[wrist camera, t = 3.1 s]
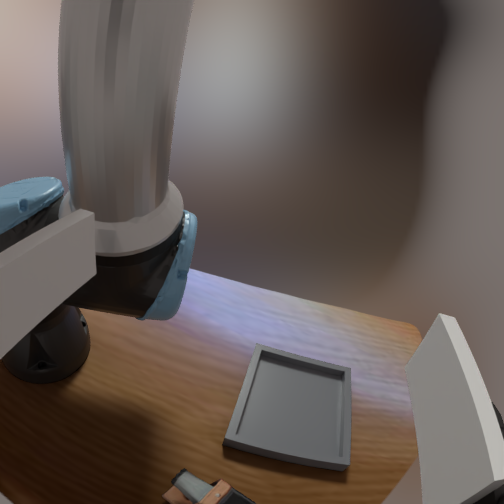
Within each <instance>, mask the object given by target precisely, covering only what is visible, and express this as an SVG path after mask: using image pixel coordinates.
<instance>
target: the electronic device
mask: <svg viewBox="0 0 504 504" xmlns="http://www.w3.org/2000/svg"><path fill="white" fill-rule="evenodd" d="M171 482H172V484H173V485H174V486H172V487H171V488H170V489H169V490H168V491H167V492H166V493H164V494H162V497H163V498H164V499H166V500H167V501H168V502H169V503H171V504H256V503H255V502H254V501H252V500H251V499H249V498H247V497H246V496H244V495H243V494H242V493H240V492H239V491H237V490H235V489H234V488H233V487H232V486H231V485H229V484H228V483H226V482H225V481H224V480H223V479H219V480H217V481H215V482H213V483H212V484H208V483H206V482H204V481H203V480H201V479H199V478H197V477H196V476H194V475H193V474H192V473H190V472H188V471H187V470H186V469H185V468H184V469H183V470H181V471H180V473H178V474H177V475H176V476H175V478H173V479H172V481H171Z"/></svg>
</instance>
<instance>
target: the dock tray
mask: <svg viewBox="0 0 504 504" xmlns="http://www.w3.org/2000/svg"><path fill="white" fill-rule="evenodd" d="M222 445H224V446H228V447H231V448H234V449H238V450H241V451H245V452H248V453H252V454H256V455H260V456H264V457H268V458H272V459H276V460H281V461H285V462H290V463H295V464H300V465H305V466H311V467H317V468H323V469H330V470H337V471H343V470H345V469H346V468H347V467H348V466H349V465H350V448H351V368H347V367H343V366H339V365H335V364H331V363H327V362H323V361H319V360H315V359H311V358H307V357H303V356H300V355H296V354H292V353H289V352H285V351H282V350H278V349H275V348H271V347H268V346H264V345H261V344H258V343H256V346H255V349H254V352H253V356H252V359H251V362H250V365H249V368H248V371H247V374H246V377H245V380H244V383H243V386H242V389H241V392H240V395H239V398H238V401H237V404H236V407H235V409H234V412H233V415H232V418H231V421H230V424H229V427H228V430H227V433H226V435H225V438H224V441H223V444H222Z"/></svg>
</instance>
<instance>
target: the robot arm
mask: <svg viewBox="0 0 504 504" xmlns="http://www.w3.org/2000/svg"><path fill="white" fill-rule="evenodd" d="M193 2H194V0H62V3H61V14H60V26H59V48H58V83H59V84H58V85H59V106H60V120H61V132H62V141H63V151H64V158H65V166H66V173H67V179H68V185H69V191H68V193H67V194H66V195H65V197H63V193H64V188H63V187H62V183H61V181H60V180H58V179H56V178H54V177H36V178H30V179H25V180H20V181H17V182H14V183H11V184H8V185H5V186H3V187H0V359H2V361H3V363H4V365H5V367H6V368H7V369H8V370H9V371H10V372H11V373H12V374H13V375H14V376H16V377H17V378H19V379H21V380H24V381H27V382H31V383H51V382H55V381H58V380H61V379H63V378H65V377H67V376H69V375H71V374H72V373H74V372H75V371H76V370H77V369H78V368H79V367H80V366H81V365H82V364H83V362H84V361H85V359H86V358H87V355H88V353H89V350H90V335H89V329H88V325H87V322H86V320H85V318H84V316H83V315H82V313H81V311H80V309H79V308H84V309H89V310H95V311H100V312H106V313H112V314H117V315H123V316H130V317H135V318H136V319H138V320H145V319H152V320H168V319H170V318H172V317H173V316H174V315H175V314H176V313H177V311H178V309H179V307H180V304H181V301H182V298H183V294H184V290H185V286H186V282H187V273H188V272H189V267H190V264H191V260H192V254H193V249H194V244H195V239H196V232H197V218H196V216H195V215H194V214H192V213H190V212H188V211H187V210H183V200H182V196H181V194H180V192H179V190H178V189H177V187H176V186H175V185H174V184H173V183H172V182H171V181H169V180H168V178H169V177H168V176H169V165H170V154H171V143H172V134H173V125H174V117H175V108H176V101H177V93H178V86H179V79H180V73H181V66H182V60H183V54H184V48H185V43H186V37H187V32H188V27H189V22H190V17H191V12H192V7H193ZM78 307H79V308H78ZM405 372H406V377H407V382H408V387H409V392H410V398H411V404H412V410H413V416H414V422H415V429H416V436H417V444H418V452H419V460H420V471H421V481H422V498H423V504H504V423H503V420H502V417H501V414H500V413H499V411H498V410H497V408H496V407H495V405H494V404H493V402H491V400H490V397H489V394H488V392H487V389H486V387H485V384H484V382H483V379H482V376H481V374H480V372H479V369H478V367H477V364H476V363H475V360H474V358H473V355H472V353H471V351H470V349H469V346H468V344H467V342H466V340H465V338H464V336H463V333H462V331H461V329H460V327H459V325H458V323H457V321H456V319H455V318H454V317H451V316H447V315H444V314H440V313H439V314H438V316H437V318H436V319H435V321H434V323H433V325H432V326H431V328H430V329H429V331H428V333H427V334H426V336H425V338H424V339H423V341H422V342H421V344H420V345H419V347H418V348H417V350H416V351H415V353H414V354H413V356H412V357H411V359H410V360H409V362H408V363H407V365H406V366H405Z"/></svg>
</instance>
